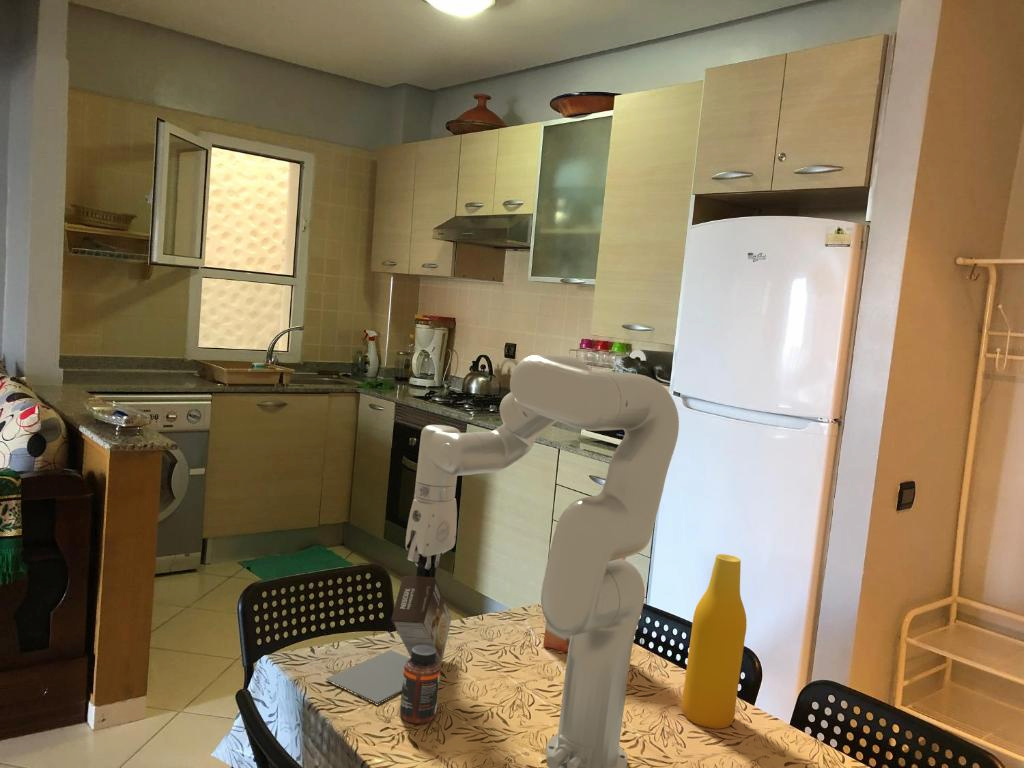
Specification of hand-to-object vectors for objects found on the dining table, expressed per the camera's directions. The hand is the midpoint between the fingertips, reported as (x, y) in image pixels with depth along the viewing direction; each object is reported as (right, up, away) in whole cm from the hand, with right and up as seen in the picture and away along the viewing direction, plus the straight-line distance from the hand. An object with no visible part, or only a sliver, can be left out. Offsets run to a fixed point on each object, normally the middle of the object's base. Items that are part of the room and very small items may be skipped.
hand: (424, 586), depth 149 cm
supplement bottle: (+1, -16, -19) cm, 25 cm away
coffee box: (+1, -11, +4) cm, 12 cm away
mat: (-6, -14, -7) cm, 17 cm away
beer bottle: (+51, -21, -8) cm, 56 cm away
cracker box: (+30, -17, +14) cm, 37 cm away
